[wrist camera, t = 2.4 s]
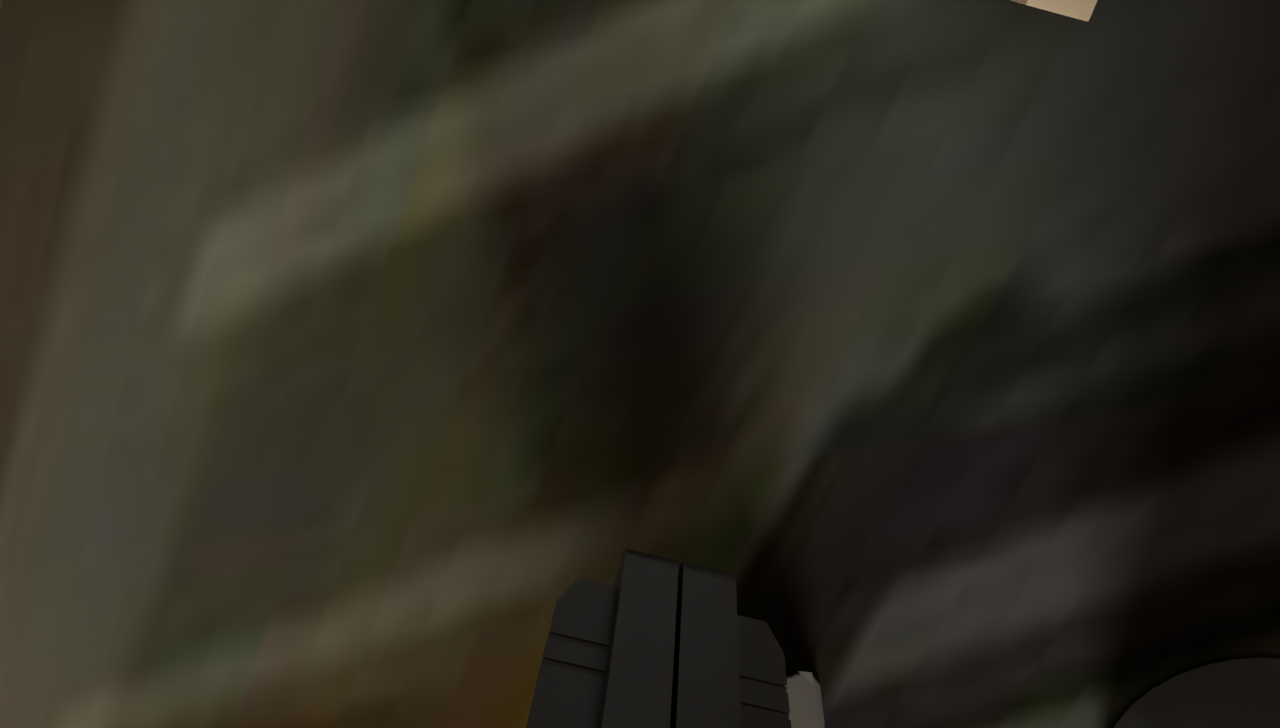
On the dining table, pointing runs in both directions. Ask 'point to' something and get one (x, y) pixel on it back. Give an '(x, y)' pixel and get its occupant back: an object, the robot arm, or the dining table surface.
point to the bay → (1064, 7)
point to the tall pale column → (804, 700)
